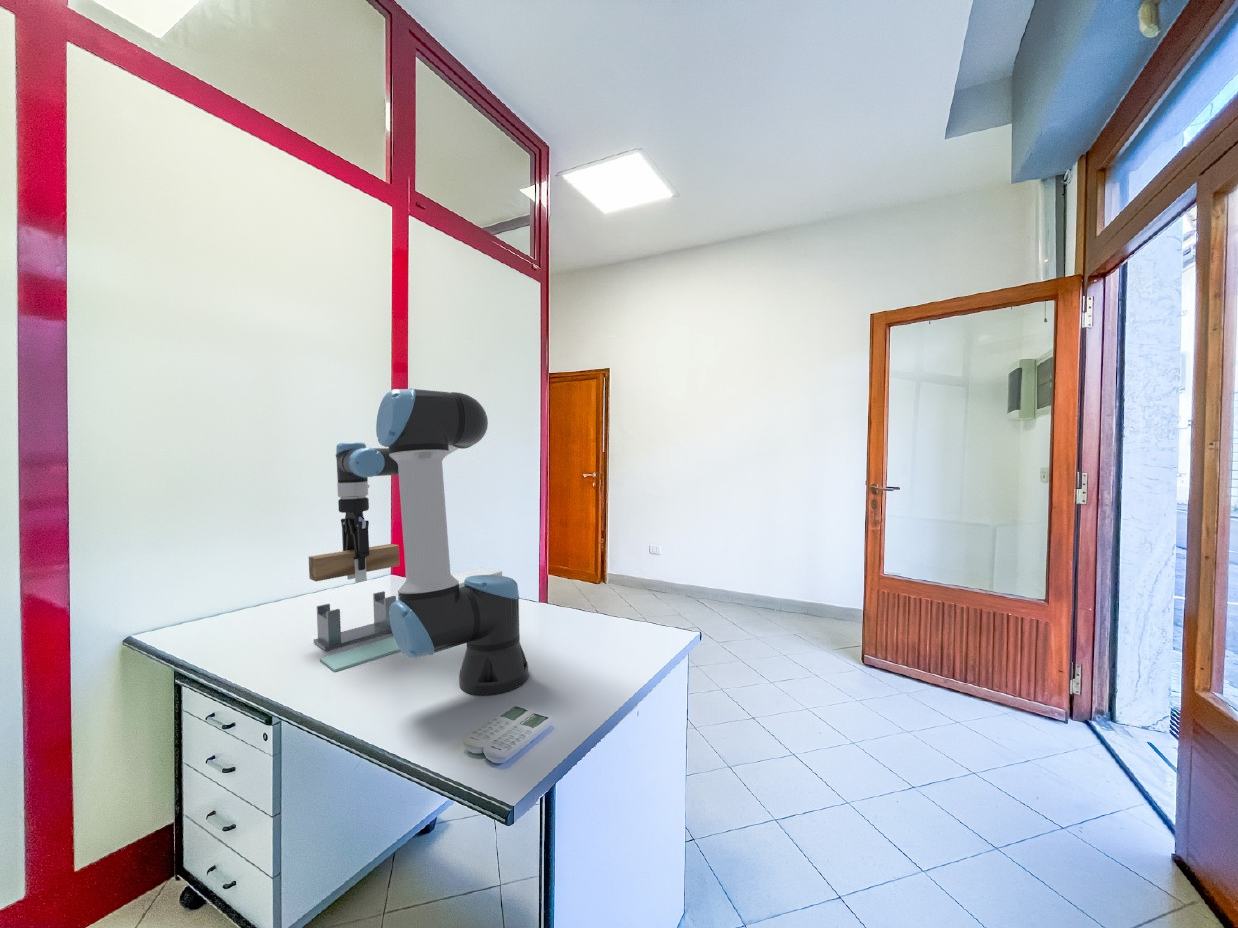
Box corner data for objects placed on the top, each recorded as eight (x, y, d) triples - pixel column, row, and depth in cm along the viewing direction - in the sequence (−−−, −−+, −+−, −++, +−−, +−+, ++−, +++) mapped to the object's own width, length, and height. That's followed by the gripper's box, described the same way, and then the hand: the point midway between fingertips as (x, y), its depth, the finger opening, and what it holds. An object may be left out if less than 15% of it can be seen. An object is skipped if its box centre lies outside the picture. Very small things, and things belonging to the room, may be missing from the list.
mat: (430, 641, 135) (430, 639, 135) (334, 672, 117) (334, 669, 117) (413, 632, 142) (413, 630, 142) (319, 660, 124) (319, 658, 124)
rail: (399, 565, 146) (398, 545, 146) (315, 581, 129) (314, 558, 129) (392, 563, 149) (391, 543, 149) (309, 578, 133) (308, 556, 133)
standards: (401, 629, 144) (399, 595, 144) (325, 651, 130) (323, 613, 129) (387, 622, 150) (386, 590, 150) (313, 643, 136) (312, 606, 135)
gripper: (380, 497, 136) (384, 581, 136) (355, 495, 148) (358, 572, 148) (351, 499, 130) (355, 587, 130) (327, 497, 142) (330, 578, 142)
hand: (356, 579), depth 139 cm, fingers closed on rail, 5 cm apart
